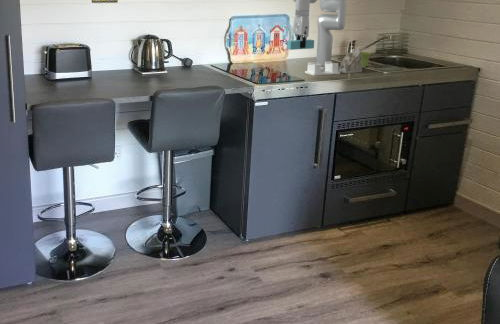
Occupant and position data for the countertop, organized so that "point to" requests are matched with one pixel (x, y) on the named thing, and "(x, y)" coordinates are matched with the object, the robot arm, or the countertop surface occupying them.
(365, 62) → the plant pot
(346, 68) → the grey irregular blocky piece
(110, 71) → the countertop surface
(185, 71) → the countertop surface
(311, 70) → the display cradle
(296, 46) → the teal rectangular stick
